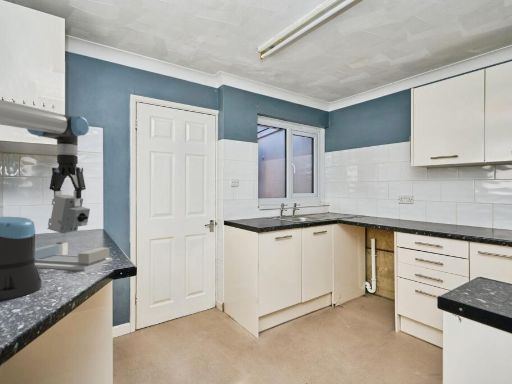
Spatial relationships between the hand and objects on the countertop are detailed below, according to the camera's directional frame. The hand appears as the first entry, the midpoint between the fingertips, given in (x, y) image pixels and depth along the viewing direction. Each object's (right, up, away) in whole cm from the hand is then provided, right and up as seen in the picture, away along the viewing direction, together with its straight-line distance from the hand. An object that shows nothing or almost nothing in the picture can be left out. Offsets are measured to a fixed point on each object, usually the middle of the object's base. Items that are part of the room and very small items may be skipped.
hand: (67, 206), depth 122 cm
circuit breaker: (0, -11, 0) cm, 11 cm away
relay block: (-14, -25, +15) cm, 32 cm away
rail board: (0, -25, 0) cm, 25 cm away
